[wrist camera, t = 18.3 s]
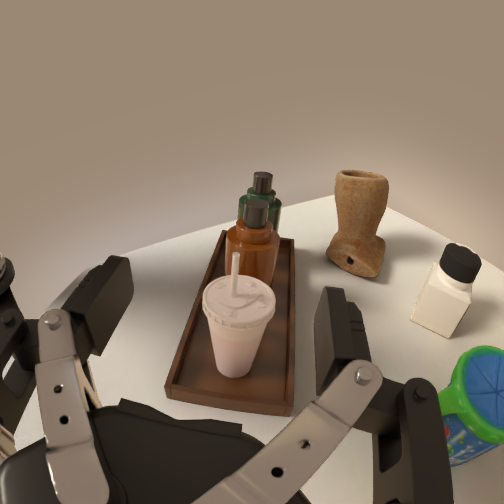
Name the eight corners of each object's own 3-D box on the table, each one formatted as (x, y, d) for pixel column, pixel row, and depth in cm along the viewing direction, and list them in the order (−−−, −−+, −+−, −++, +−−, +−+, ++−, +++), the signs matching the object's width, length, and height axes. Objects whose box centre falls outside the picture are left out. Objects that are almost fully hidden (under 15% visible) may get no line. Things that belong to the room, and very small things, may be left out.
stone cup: (332, 227, 62) (347, 157, 54) (386, 247, 58) (407, 176, 50) (306, 261, 51) (323, 174, 43) (373, 287, 46) (402, 199, 38)
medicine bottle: (449, 340, 37) (487, 272, 30) (409, 320, 40) (441, 250, 34) (454, 313, 41) (485, 251, 35) (418, 296, 45) (445, 231, 38)
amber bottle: (213, 303, 40) (216, 201, 32) (243, 282, 44) (251, 188, 36) (250, 326, 37) (262, 221, 29) (278, 302, 41) (295, 204, 33)
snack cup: (385, 487, 20) (446, 444, 14) (382, 400, 29) (424, 338, 23) (499, 470, 18) (561, 423, 13) (485, 401, 27) (531, 346, 21)
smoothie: (198, 346, 33) (194, 236, 26) (252, 337, 35) (266, 230, 28) (211, 394, 28) (211, 284, 21) (272, 380, 30) (298, 272, 23)
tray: (289, 417, 27) (293, 406, 26) (166, 398, 28) (163, 386, 26) (292, 250, 53) (294, 239, 52) (221, 241, 54) (222, 229, 53)
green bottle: (226, 260, 48) (232, 173, 41) (250, 246, 52) (259, 165, 45) (257, 277, 45) (268, 185, 38) (280, 260, 49) (293, 176, 42)
